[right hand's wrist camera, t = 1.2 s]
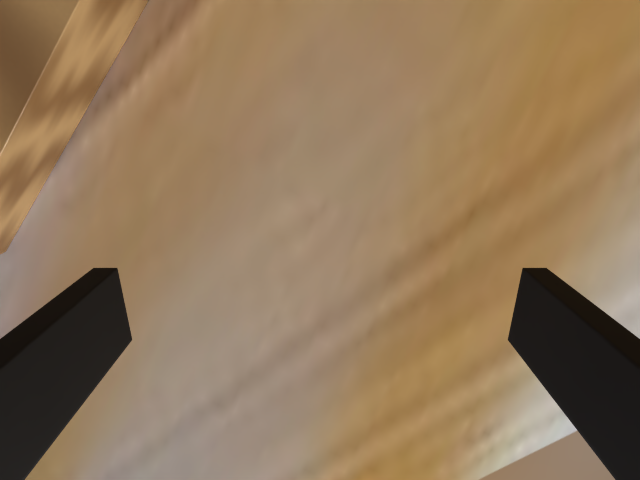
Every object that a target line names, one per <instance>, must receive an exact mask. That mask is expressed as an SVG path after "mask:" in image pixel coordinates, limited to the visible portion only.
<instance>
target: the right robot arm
mask: <svg viewBox="0 0 640 480" xmlns="http://www.w3.org/2000/svg"><path fill="white" fill-rule="evenodd" d="M131 341H132V337H131V332H130V327H129V322H128V317H127V313H126V308H125V303H124V298H123V293H122V288H121V284H120V279H119V274H118V269H117V268H93V269H92V270H90V271H89V272H88V273H86V274H85V275H84V276H83V277H81V278H80V279H79V280H77V281H76V282H75V283H73V284H72V285H71V286H69V287H68V288H67V289H65V290H64V291H63V292H61V293H60V294H59V295H58V296H56V297H55V298H54V299H52V300H51V301H50V302H48V303H47V304H46V305H44V306H43V307H42V308H40V309H39V310H38V311H37V312H35V313H34V314H33V315H31V316H30V317H29V318H27V319H26V320H25V321H23V322H22V323H21V324H19V325H18V326H17V327H16V328H14V329H13V330H12V331H10V332H9V333H8V334H6V335H5V336H4V337H2V338H1V339H0V480H25V478H26V477H27V476H28V474H29V473H30V472H31V471H32V469H33V468H34V467H35V465H36V464H37V463H38V461H39V460H40V459H41V458H42V456H43V455H44V454H45V452H46V451H47V450H48V448H49V447H50V446H51V445H52V443H53V442H54V441H55V439H56V438H57V437H58V435H59V434H60V433H61V432H62V430H63V429H64V428H65V426H66V425H67V424H68V422H69V421H70V420H71V419H72V417H73V416H74V415H75V413H76V412H77V411H78V409H79V408H80V407H81V406H82V404H83V403H84V402H85V400H86V399H87V398H88V396H89V395H90V394H91V393H92V391H93V390H94V389H95V387H96V386H97V385H98V383H99V382H100V381H101V380H102V378H103V377H104V376H105V374H106V373H107V372H108V370H109V369H110V368H111V367H112V365H113V364H114V363H115V361H116V360H117V359H118V357H119V356H120V355H121V354H122V352H123V351H124V350H125V348H126V347H127V346H128V345H129V343H130V342H131ZM508 341H509V342H510V343H511V345H512V346H513V347H514V348H515V350H516V351H517V352H518V354H519V355H520V356H521V357H522V359H523V360H524V361H525V363H526V364H527V365H528V367H529V368H530V369H531V370H532V372H533V373H534V374H535V376H536V377H537V378H538V380H539V381H540V382H541V383H542V385H543V386H544V387H545V389H546V390H547V391H548V393H549V394H550V395H551V396H552V398H553V399H554V400H555V402H556V403H557V404H558V406H559V407H560V408H561V409H562V411H563V412H564V413H565V415H566V416H567V417H568V419H569V420H570V421H571V422H572V424H573V425H574V426H575V428H576V429H577V430H578V432H579V433H580V434H581V435H582V437H583V438H584V439H585V441H586V442H587V443H588V445H589V446H590V447H591V448H592V450H593V451H594V452H595V454H596V455H597V456H598V458H599V459H600V460H601V461H602V463H603V464H604V465H605V467H606V468H607V469H608V470H609V472H610V473H611V474H612V476H613V477H614V478H615V480H640V339H639V338H638V337H636V336H635V335H634V334H632V333H631V332H630V331H628V330H627V329H626V328H624V327H623V326H622V325H621V324H619V323H618V322H617V321H615V320H614V319H613V318H611V317H610V316H609V315H607V314H606V313H605V312H603V311H602V310H601V309H600V308H598V307H597V306H596V305H594V304H593V303H592V302H590V301H589V300H588V299H586V298H585V297H584V296H582V295H581V294H580V293H579V292H577V291H576V290H575V289H573V288H572V287H571V286H569V285H568V284H567V283H565V282H564V281H563V280H561V279H560V278H559V277H557V276H556V275H555V274H554V273H552V272H551V271H550V270H548V269H547V268H523V269H522V274H521V279H520V284H519V288H518V293H517V298H516V303H515V308H514V313H513V317H512V322H511V327H510V332H509V337H508Z"/></svg>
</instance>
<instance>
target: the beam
mask: <svg viewBox="0 0 640 480" xmlns="http://www.w3.org/2000/svg"><path fill="white" fill-rule="evenodd" d="M148 1H149V0H0V254H2V253H4V252H6V250H7V248H8V247H9V245H10V243H11V241H12V240H13V238H14V236H15V234H16V233H17V231H18V229H19V227H20V226H21V224H22V222H23V220H24V219H25V217H26V215H27V213H28V212H29V210H30V208H31V206H32V204H33V203H34V201H35V199H36V197H37V196H38V194H39V192H40V190H41V189H42V187H43V185H44V183H45V182H46V180H47V178H48V176H49V175H50V173H51V171H52V169H53V168H54V166H55V164H56V162H57V161H58V159H59V157H60V155H61V154H62V152H63V150H64V148H65V146H66V145H67V143H68V141H69V139H70V138H71V136H72V134H73V132H74V131H75V129H76V127H77V125H78V124H79V122H80V120H81V118H82V117H83V115H84V113H85V111H86V110H87V108H88V106H89V104H90V103H91V101H92V99H93V97H94V96H95V94H96V92H97V90H98V88H99V87H100V85H101V83H102V81H103V80H104V78H105V76H106V74H107V73H108V71H109V69H110V67H111V66H112V64H113V62H114V60H115V59H116V57H117V55H118V53H119V52H120V50H121V48H122V46H123V45H124V43H125V41H126V39H127V38H128V36H129V34H130V32H131V30H132V29H133V27H134V25H135V23H136V22H137V20H138V18H139V16H140V15H141V13H142V11H143V9H144V8H145V6H146V4H147V2H148Z"/></svg>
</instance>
